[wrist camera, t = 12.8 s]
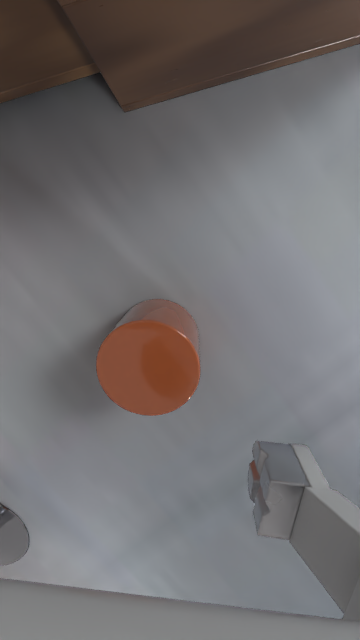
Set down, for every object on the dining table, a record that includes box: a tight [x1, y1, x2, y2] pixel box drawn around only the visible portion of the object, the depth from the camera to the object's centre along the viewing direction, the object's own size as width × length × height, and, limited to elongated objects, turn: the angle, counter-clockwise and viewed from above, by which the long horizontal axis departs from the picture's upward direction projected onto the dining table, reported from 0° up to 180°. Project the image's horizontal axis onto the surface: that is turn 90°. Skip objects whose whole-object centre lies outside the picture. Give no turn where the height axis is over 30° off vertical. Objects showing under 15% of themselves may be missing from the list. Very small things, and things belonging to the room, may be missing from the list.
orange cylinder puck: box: [96, 299, 201, 416], centre depth 16 cm, size 5×5×4 cm
